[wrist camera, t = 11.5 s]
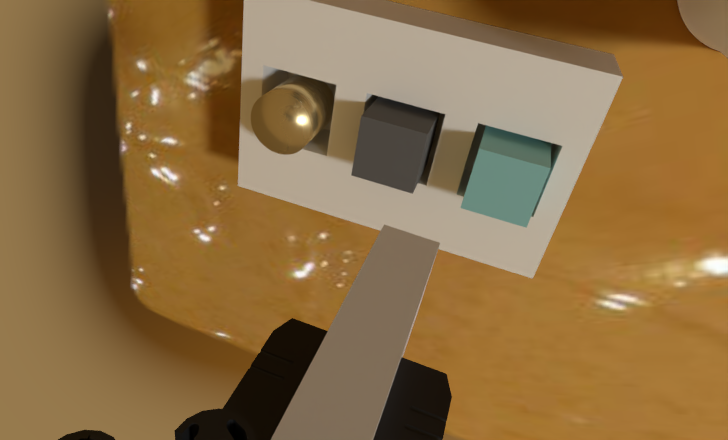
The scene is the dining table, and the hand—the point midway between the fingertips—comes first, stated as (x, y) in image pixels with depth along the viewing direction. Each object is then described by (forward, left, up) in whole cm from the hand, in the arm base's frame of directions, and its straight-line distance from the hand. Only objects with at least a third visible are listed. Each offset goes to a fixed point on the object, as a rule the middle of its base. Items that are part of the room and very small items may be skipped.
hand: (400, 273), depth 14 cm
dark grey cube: (+5, -4, -21) cm, 22 cm away
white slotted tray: (+5, -4, -24) cm, 25 cm away
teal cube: (+5, +3, -21) cm, 22 cm away
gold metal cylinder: (+5, -11, -21) cm, 24 cm away
